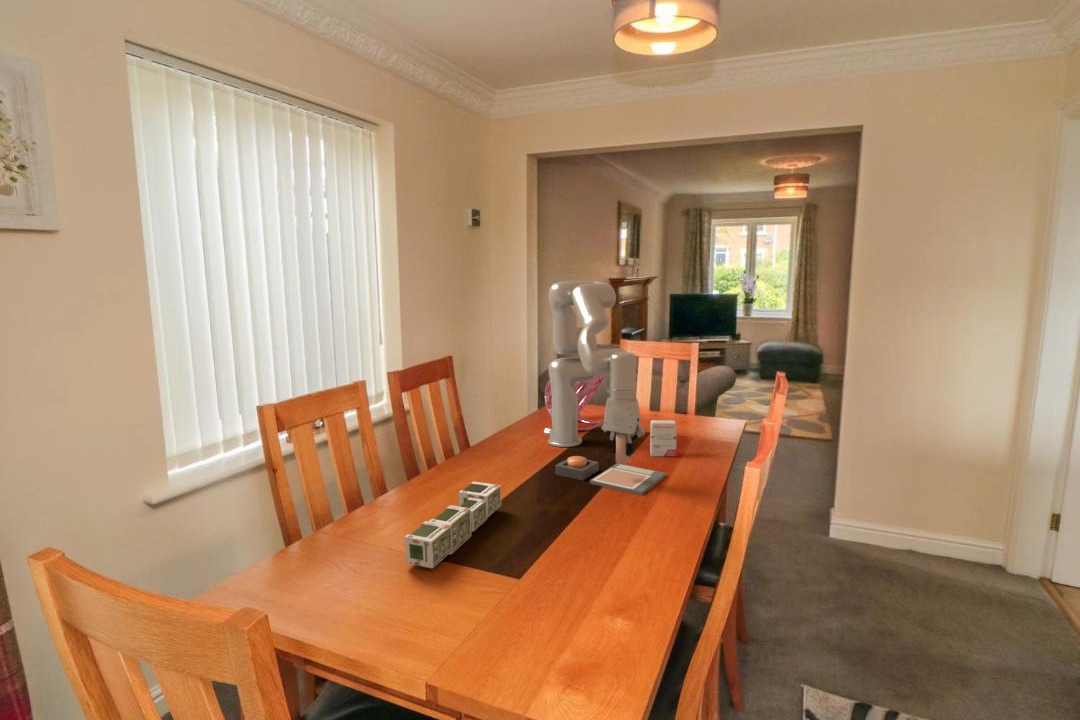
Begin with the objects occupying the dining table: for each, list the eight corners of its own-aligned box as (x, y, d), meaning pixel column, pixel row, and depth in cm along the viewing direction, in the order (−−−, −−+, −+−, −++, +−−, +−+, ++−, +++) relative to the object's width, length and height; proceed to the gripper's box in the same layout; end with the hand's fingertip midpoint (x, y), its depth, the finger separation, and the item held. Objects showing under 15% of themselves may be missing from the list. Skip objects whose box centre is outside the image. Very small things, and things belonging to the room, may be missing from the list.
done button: (563, 467, 187) (563, 460, 187) (573, 462, 192) (573, 454, 192) (580, 471, 184) (580, 463, 183) (589, 465, 189) (589, 458, 188)
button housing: (555, 474, 187) (555, 465, 186) (571, 465, 195) (571, 456, 195) (582, 480, 181) (582, 471, 181) (598, 470, 190) (598, 461, 189)
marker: (612, 462, 178) (613, 423, 176) (619, 458, 182) (619, 420, 180) (625, 465, 176) (625, 425, 174) (631, 461, 179) (632, 422, 177)
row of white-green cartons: (474, 506, 164) (473, 480, 162) (501, 510, 160) (501, 484, 159) (400, 567, 132) (398, 535, 130) (432, 573, 128) (431, 541, 127)
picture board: (589, 483, 179) (589, 479, 179) (616, 466, 194) (616, 462, 193) (641, 495, 169) (641, 491, 169) (666, 476, 184) (666, 472, 184)
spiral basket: (637, 378, 237) (583, 338, 244) (607, 409, 216) (549, 364, 222) (606, 423, 254) (556, 385, 260) (575, 456, 233) (522, 413, 239)
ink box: (674, 452, 207) (675, 419, 205) (676, 457, 202) (677, 423, 200) (649, 452, 207) (650, 419, 205) (650, 456, 203) (651, 423, 201)
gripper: (591, 393, 177) (592, 452, 180) (643, 399, 168) (642, 461, 171) (603, 388, 183) (603, 446, 186) (654, 394, 174) (653, 454, 177)
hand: (622, 453), depth 178 cm, fingers closed on marker, 4 cm apart
